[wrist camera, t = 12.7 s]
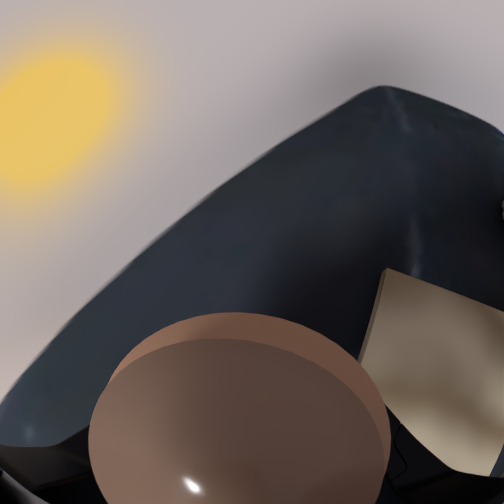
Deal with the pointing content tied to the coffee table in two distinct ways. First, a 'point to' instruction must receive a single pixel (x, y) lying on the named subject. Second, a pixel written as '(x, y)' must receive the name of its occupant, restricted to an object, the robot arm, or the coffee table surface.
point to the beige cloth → (439, 369)
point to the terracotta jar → (239, 418)
